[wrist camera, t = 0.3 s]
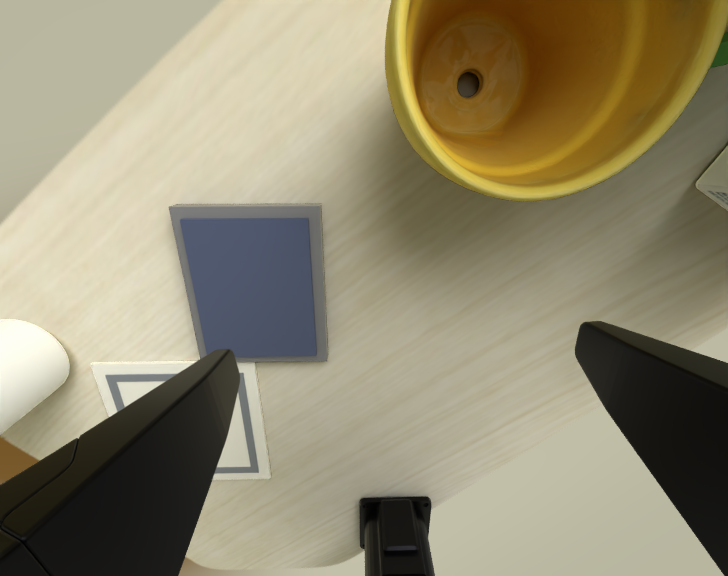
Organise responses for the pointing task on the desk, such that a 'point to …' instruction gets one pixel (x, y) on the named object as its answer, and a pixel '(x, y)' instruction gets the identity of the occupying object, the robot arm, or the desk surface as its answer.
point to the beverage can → (27, 369)
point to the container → (716, 180)
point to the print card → (247, 430)
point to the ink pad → (254, 279)
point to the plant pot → (544, 85)
